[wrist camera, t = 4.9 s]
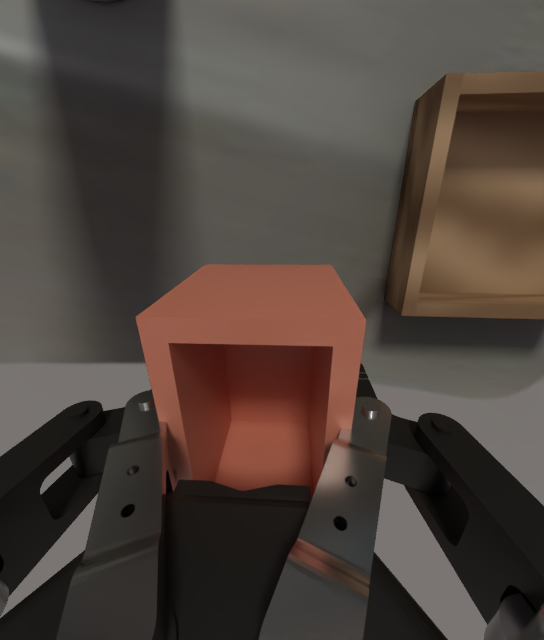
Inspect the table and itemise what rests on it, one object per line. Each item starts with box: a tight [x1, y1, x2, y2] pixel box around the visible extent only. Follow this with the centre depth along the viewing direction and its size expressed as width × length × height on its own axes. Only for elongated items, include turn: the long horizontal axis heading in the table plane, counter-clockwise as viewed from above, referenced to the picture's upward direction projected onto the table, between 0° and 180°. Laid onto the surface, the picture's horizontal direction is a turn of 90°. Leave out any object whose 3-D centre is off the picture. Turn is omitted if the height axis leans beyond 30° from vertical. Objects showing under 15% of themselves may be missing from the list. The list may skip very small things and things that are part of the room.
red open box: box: [136, 265, 366, 498], centre depth 11 cm, size 9×6×6 cm, turn 0°
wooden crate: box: [384, 71, 544, 319], centre depth 19 cm, size 14×14×4 cm
